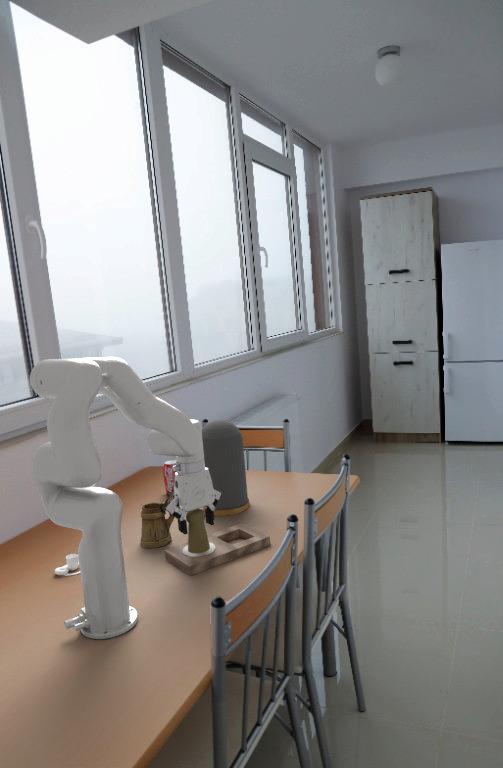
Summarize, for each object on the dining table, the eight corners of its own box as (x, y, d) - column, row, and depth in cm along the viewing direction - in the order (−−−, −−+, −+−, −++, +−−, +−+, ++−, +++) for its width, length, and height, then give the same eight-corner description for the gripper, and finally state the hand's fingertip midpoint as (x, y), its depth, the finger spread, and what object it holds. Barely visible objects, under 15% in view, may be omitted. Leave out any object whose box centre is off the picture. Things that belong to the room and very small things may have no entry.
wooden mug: (181, 548, 171) (174, 487, 168) (136, 548, 173) (129, 489, 170) (189, 535, 179) (183, 478, 177) (146, 535, 182) (139, 479, 179)
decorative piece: (245, 515, 192) (237, 424, 187) (197, 516, 194) (188, 426, 190) (252, 498, 207) (245, 414, 202) (208, 499, 210) (200, 416, 205)
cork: (184, 547, 163) (180, 509, 162) (204, 542, 166) (200, 504, 165) (192, 555, 158) (188, 516, 156) (213, 549, 161) (209, 510, 159)
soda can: (162, 495, 217) (158, 464, 216) (170, 489, 224) (167, 458, 222) (179, 496, 215) (176, 464, 213) (187, 489, 222) (184, 458, 220)
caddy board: (190, 575, 153) (189, 565, 153) (165, 558, 164) (164, 548, 164) (270, 544, 168) (269, 535, 167) (242, 531, 179) (241, 521, 179)
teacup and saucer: (54, 580, 158) (52, 565, 157) (56, 567, 165) (54, 553, 165) (88, 573, 160) (86, 559, 159) (88, 561, 168) (86, 547, 167)
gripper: (168, 476, 151) (175, 542, 153) (225, 461, 161) (231, 522, 163) (155, 470, 157) (162, 534, 159) (211, 456, 167) (216, 516, 169)
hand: (197, 528), depth 161 cm, fingers open, 7 cm apart
